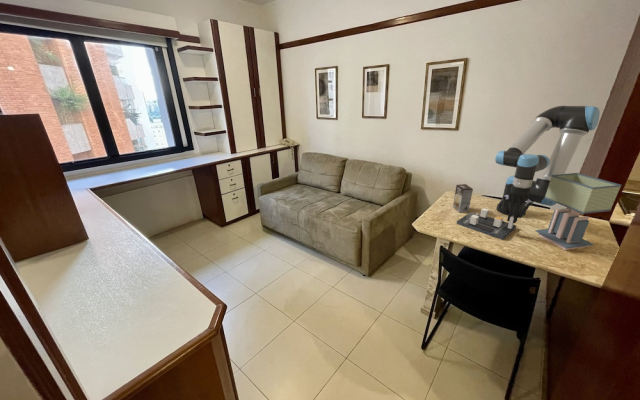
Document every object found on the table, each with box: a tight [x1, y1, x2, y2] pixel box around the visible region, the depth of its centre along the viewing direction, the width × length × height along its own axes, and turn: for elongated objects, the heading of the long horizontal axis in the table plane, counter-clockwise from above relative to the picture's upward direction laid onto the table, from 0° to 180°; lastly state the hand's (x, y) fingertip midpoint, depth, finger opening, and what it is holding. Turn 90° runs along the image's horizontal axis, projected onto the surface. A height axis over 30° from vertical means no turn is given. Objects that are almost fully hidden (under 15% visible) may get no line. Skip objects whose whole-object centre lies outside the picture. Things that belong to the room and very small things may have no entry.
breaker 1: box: [470, 215, 479, 225], centre depth 144 cm, size 3×3×4 cm
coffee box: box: [452, 183, 474, 213], centre depth 164 cm, size 9×6×16 cm
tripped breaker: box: [493, 216, 504, 227], centre depth 140 cm, size 3×3×5 cm
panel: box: [456, 211, 517, 241], centre depth 146 cm, size 18×24×2 cm
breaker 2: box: [479, 208, 490, 218], centre depth 151 cm, size 3×3×4 cm
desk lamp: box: [534, 172, 622, 251], centre depth 123 cm, size 18×14×33 cm
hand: (510, 227), depth 136 cm, fingers closed
